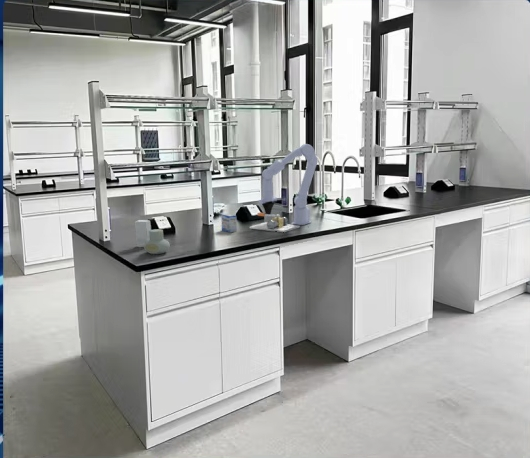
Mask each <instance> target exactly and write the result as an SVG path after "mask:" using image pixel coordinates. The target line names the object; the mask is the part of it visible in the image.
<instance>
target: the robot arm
mask: <svg viewBox="0 0 530 458" xmlns="http://www.w3.org/2000/svg"><path fill="white" fill-rule="evenodd" d="M302 156H303V157H304V158H305V159H306V161H307V164H306V168H305V171H304V174H303V178H302V181H301V183H300V188H299V190H298V191H297V195H295V197H294V199H293V202H294V204H295V205H294V206H293V222H291V223H290V225H300V226H304V225H307V224H311V223H312V221H311V212H310V208H309V207H308V206H307V204H308V201H307V199H308V193H309V189H310V186H311V183H312V179H313V176H314V174H315V171H316V168H317V164H318V158H317V154H316V150H315V148H314V147H313V146H312V145H311V144H308V143H303V144H302V145H301V146H298V147H296V148H295V149H293V150H292V151H291V152H290V153H289V154H288V155H286V156H285V157H284V158H282V160H280V159H278V160H274V161H273V163H272V164H271V165H269V166H267V167H266V169H264V170H263V171H262V173H261V176H262V182H261V183H262V198H261V199H259V200H258V205H262V208H263V209H264V213H266V214H272V210H273V207H274V205H275V202H277V201H278V200H277V199H278V197H275V196H274V185H273V184H274V183H273V178H274V176H276V175H278V174H279V173H281V172H282V171H283V170H284V169H285V167H286V165H287V164H288V163H290V162H291V161H293V160H294V159H295V158H298V157H302Z"/></svg>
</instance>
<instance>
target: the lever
mask: <svg viewBox="0 0 530 458" xmlns="http://www.w3.org/2000/svg"><path fill="white" fill-rule="evenodd" d="M256 215H257V216H258V217H272V218H275V217H280V218H281V215H280V214H272V213H271V214H266V213H265V212H257V214H256Z"/></svg>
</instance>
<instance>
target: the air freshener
mask: <svg viewBox="0 0 530 458" xmlns="http://www.w3.org/2000/svg"><path fill="white" fill-rule="evenodd" d="M149 238H150V240H149V241H147V242H146V243H145V245H144V247H143V248H144V250H145V251H146V252H147V253H148V254H151V255H154V254H156V255H161V254H164V253H166V252H167V251H168V250H169V249H170V246H171V245H170V242H169V241H168V240H167V239H165V238H164V230H163V229H161V228H160V229H156V228H155V229H151V230H150V231H149Z"/></svg>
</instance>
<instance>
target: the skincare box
mask: <svg viewBox="0 0 530 458" xmlns="http://www.w3.org/2000/svg"><path fill="white" fill-rule="evenodd" d="M151 224H152V223H151V220H147V219H138V220H135V221H134V229H135V237H136V247H138V248H144V245H145V243H146V242H147V241H149V240H150V238H149V231H150V230H152V225H151Z"/></svg>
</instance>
